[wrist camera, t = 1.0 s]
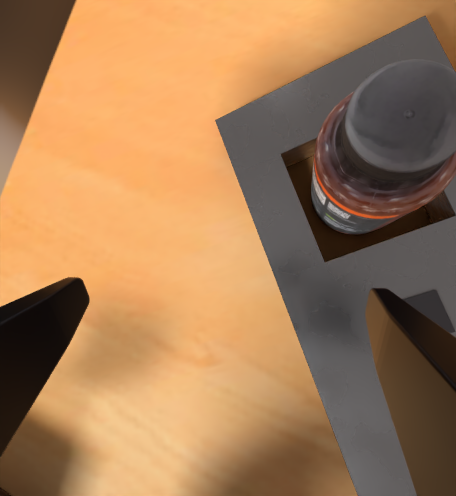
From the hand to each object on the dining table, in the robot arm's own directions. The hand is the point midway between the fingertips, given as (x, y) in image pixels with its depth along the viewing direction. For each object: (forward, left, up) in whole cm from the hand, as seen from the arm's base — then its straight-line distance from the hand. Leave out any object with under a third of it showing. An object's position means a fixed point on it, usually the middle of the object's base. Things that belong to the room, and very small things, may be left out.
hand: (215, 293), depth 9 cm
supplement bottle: (+3, -8, -14) cm, 16 cm away
